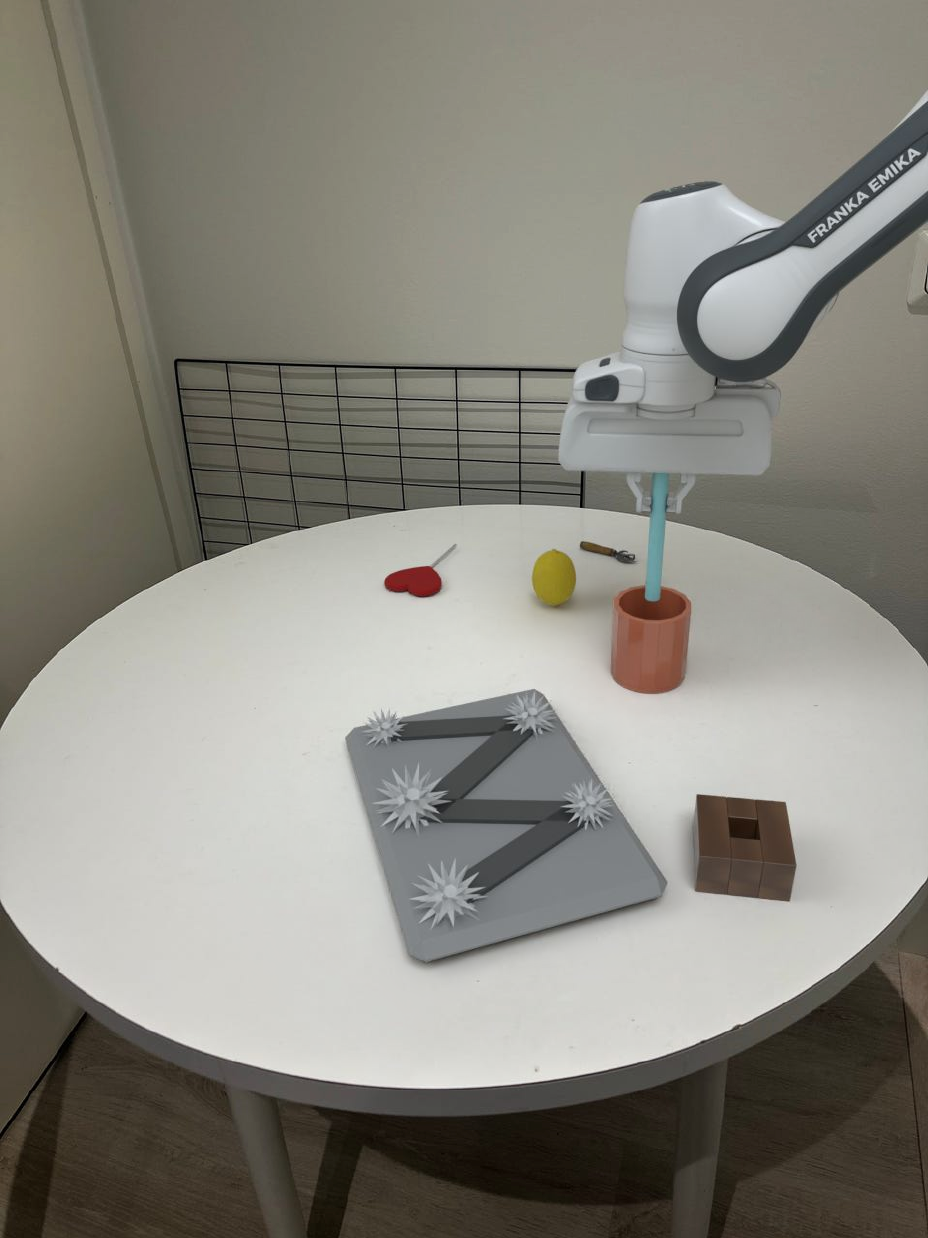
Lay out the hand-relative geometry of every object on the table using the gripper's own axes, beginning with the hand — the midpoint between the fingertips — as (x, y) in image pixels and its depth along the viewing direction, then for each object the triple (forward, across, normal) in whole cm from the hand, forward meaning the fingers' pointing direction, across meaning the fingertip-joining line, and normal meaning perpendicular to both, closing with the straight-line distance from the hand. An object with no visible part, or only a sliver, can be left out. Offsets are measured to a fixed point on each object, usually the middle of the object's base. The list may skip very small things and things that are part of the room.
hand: (658, 511), depth 91 cm
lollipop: (+20, +30, -22) cm, 42 cm away
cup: (+20, 0, 0) cm, 20 cm away
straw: (+10, 0, 0) cm, 10 cm away
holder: (+20, -8, +28) cm, 35 cm away
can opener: (+20, +6, -29) cm, 36 cm away
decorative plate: (+20, +14, +25) cm, 35 cm away
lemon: (+20, +12, -14) cm, 27 cm away
